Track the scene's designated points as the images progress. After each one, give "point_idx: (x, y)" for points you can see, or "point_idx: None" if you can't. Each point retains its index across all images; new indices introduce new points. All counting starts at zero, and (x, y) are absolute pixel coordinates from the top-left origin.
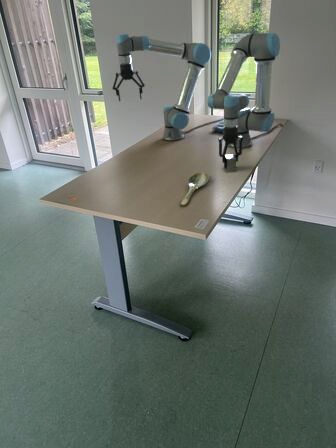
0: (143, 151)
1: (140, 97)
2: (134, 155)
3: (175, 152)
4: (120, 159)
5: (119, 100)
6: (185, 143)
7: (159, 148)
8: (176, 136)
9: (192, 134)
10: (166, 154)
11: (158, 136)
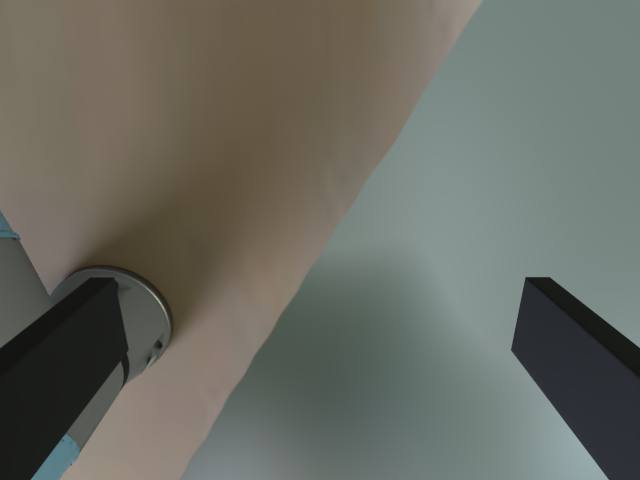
0: (278, 124)
1: (87, 293)
2: (333, 60)
3: (66, 42)
4: (425, 2)
5: (547, 284)
6: (27, 201)
7: (180, 153)
8: (75, 279)
9: None
10: (122, 17)
11: (205, 363)
